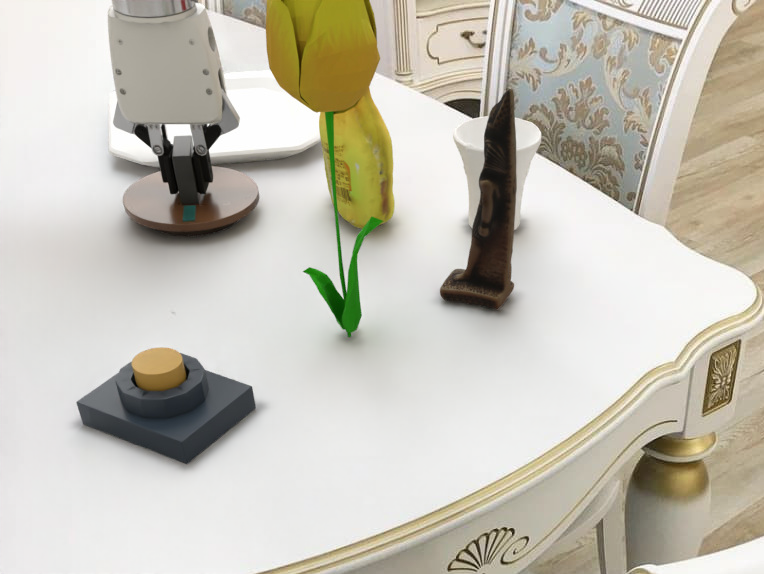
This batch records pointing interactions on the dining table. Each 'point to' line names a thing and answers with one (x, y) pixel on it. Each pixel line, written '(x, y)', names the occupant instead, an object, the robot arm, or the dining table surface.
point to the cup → (472, 155)
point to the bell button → (158, 369)
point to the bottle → (360, 163)
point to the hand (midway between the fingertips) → (189, 187)
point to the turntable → (190, 196)
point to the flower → (327, 96)
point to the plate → (255, 131)
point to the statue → (491, 218)
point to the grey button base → (168, 410)
